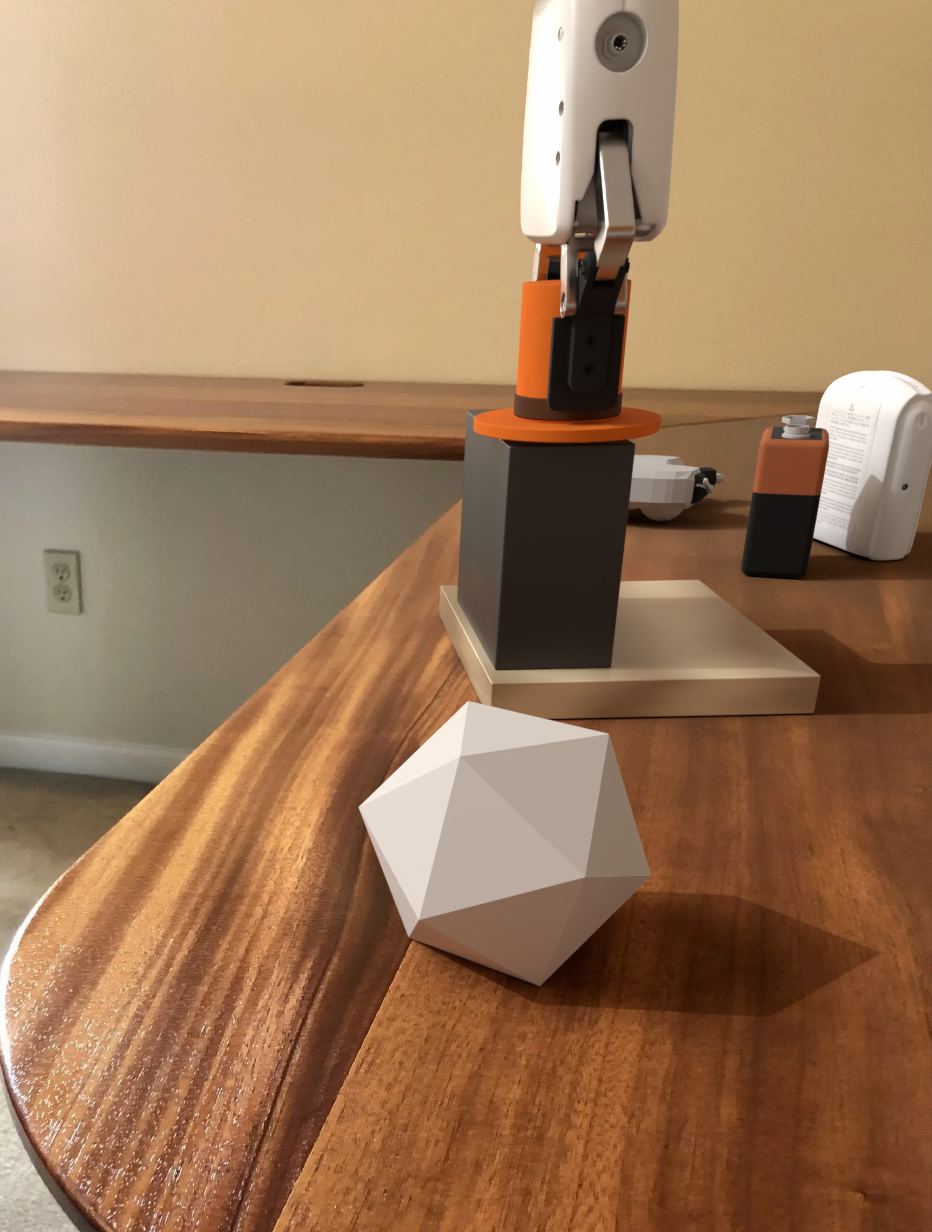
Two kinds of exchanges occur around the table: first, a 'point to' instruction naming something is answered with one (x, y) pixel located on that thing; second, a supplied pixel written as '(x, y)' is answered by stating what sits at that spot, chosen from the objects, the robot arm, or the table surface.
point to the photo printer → (874, 463)
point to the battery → (785, 499)
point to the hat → (530, 399)
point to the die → (507, 839)
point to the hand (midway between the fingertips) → (567, 397)
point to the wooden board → (651, 662)
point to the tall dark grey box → (543, 548)
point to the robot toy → (668, 485)
